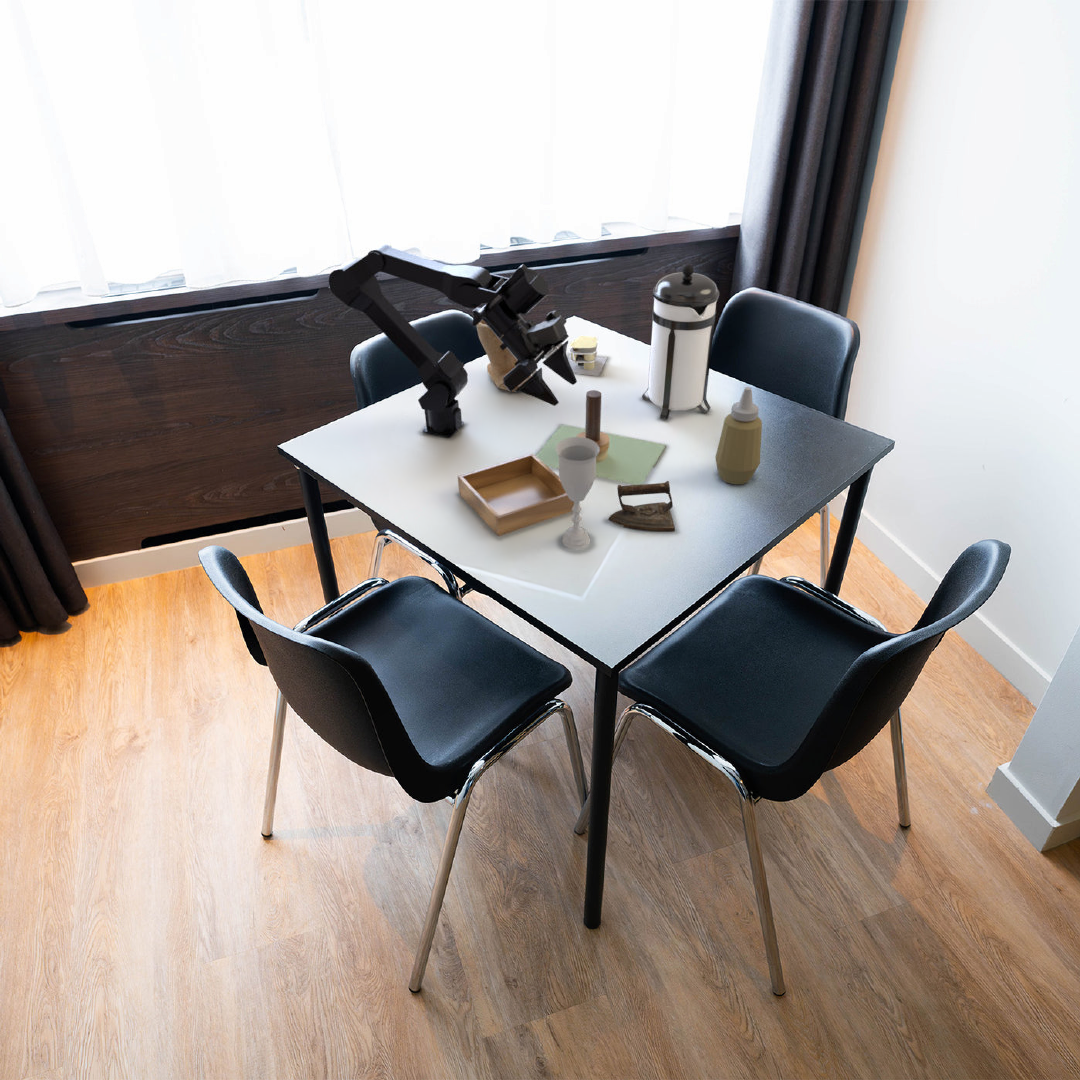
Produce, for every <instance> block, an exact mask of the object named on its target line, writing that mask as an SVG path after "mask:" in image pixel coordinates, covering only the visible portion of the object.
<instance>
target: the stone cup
mask: <svg viewBox="0 0 1080 1080" xmlns="http://www.w3.org/2000/svg"><path fill="white" fill-rule="evenodd" d="M519 321H520V320H519ZM519 321H518V322H519ZM476 331H477V336H478V340H479V341H480V343H481V345H482V348H483V349H484V351H485V354H486V355H487V357H488V360H489V363H488V364H487V367H486V368H487V373H488V375H489V376H490V378H491V379H492V381H493V382H494V384H495V386H497V388H498V389H501V390H505V391H509V390H508V389H507V388H506V387H505V385H504V384H503V377H505V376H506V375H507V374H508V373H509V372H510V371H511V370H512V369H513V368H514V367H515V366H516V365H515V364H514V363H515V362H516V361H518V360H517V359H516V358H515V357H514V356H513V355H512V353H511V352H510V351H509V350H508V349H507V348H505V349H504V350H502V349H501V348H500V347H499V346H500V345H502V344H503V343H502V342H501V341H500V340H499V339H500V338H501V337H502V336H501V337H500V338H498V337H497V336H496V335H495V334H494V333H493V331H492V330H491V329H490V328H489V327H488V326H487V324H486V323H485V322H484V321H483V320H482V321H481V322H480V323H479V324H477V325H476ZM518 387H519V386H517V387H516V388H515V389H514V390H512V391H511V392H515V390H516V389H517V388H518ZM518 392H519V391H518ZM518 392H517V393H518ZM519 393H520V392H519Z"/></svg>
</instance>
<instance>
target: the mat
mask: <svg viewBox="0 0 1080 1080" xmlns="http://www.w3.org/2000/svg"><path fill="white" fill-rule="evenodd" d="M584 431H585V428H583V427H577V426H573V425H572V426H571V425H566V424H560V426H559V427H558V428H557V430H556V431H555V432H554V433H553V434H552V435H551V436H550V438H549V440H548V441H547V442H546V443H545V444H544V445H543V446H542V447H541V449H540V450H539V451H538V452H537V454H536V455H535V456H536V457H538V458H539V459H540V460H541V461H542V462H543V463H544V464H545V465H547V466H548V467H549V468H554V469H558V470H559V456H558V454H557V452H556V445H557V444H558V443H559V442H560V441H562V440H564V439H566V438H571V437H576V436H577V435H578V434H579V433H581V432H584ZM604 433H605V434H607V435H608V436H609V448H608V456H607V458H606V459H605V460H603V461H601V462H597V463H596V477H595V478H602V479H606V480H610V481H616V482H621V483H625V484H629V485H642V484H644V482H645V481H646V480H647V477H649V474H650V472H651V470H652V469H653V468H654V467H655V465H656V464H657V462H658V460H659V459H660V457H661V456H662V453H663V452H664V450H665V449H666V446H667V444H665V443H664V444H663V443H661V442H653V441H649V440H644V439H638V438H633V437H628V436H623V435H618V434H613V433H608V432H604Z"/></svg>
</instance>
